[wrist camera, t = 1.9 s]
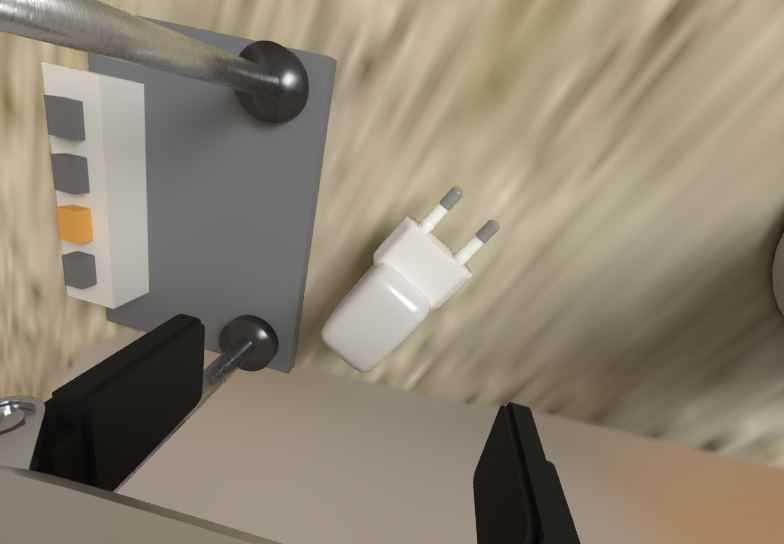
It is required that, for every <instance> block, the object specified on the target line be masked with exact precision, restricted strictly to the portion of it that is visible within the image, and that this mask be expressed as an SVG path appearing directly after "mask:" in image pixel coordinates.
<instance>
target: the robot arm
mask: <svg viewBox="0 0 784 544" xmlns="http://www.w3.org/2000/svg"><path fill="white" fill-rule="evenodd" d="M772 278H773V291H774V294H775V298H776V301H777V304H778V307H779V309H780V310H781V312H782V314H783V315H784V232H783V235H782V237H781V239H780V242H779V244H778V246H777V249H776V253H775V258H774V263H773V268H772ZM204 342H205V326H204V325H203V324H201V320H200V319H199V318H197V317H193V316H189V315H186V314H178V315H176V316H174V317H173V318H171V319H169V320H168V321H166V322H164V323H163V324H161V325H160V326H158V327H156V328H155V329H153V330H152V331H150V332H148V333H147V334H145V335H144V336H142V337H140V338H139V339H137V340H136V341H134V342H132V343H131V344H129V345H128V346H126V347H124V348H123V349H121V350H120V351H118V352H116V353H115V354H113V355H112V356H110V357H108V358H107V359H105V360H103V361H102V362H100V363H99V364H97V365H95V366H94V367H92V368H91V369H89V370H87V371H86V372H84V373H83V374H81V375H80V376H78V377H76V378H75V379H73V380H71V381H70V382H68V383H67V384H65V385H63V386H62V387H60V388H59V389H57V390H55V391H54V392H52V398H51V399H49V400H48V401H46V402H45V403H43V402H42V401H41V400H40V399H37V398H35V397H30V396H12V397H6V398H1V399H0V544H281V543H278V542H275V541H272V540H269V539H265V538H262V537H259V536H256V535H252V534H249V533H246V532H243V531H239V530H236V529H233V528H229V527H226V526H223V525H220V524H216V523H213V522H210V521H207V520H203V519H200V518H197V517H193V516H190V515H187V514H183V513H180V512H177V511H173V510H170V509H166V508H163V507H160V506H157V505H153V504H150V503H147V502H144V501H140V500H137V499H134V498H130V497H127V496H124V495H120V494H117V493H114V491H115V489H116V488H117V487H118V486H119V485H120V484H121V483H122V482H123V481H124V480H125V479H126V478H127V477H128V476H129V475H130V474H131V473H132V472H133V471H134V470H135V469H136V468H137V467H138V466H139V465H140V464H141V463H142V462H143V461H144V460H145V459H146V457H147V456H148V455H149V454H150V453H151V452H152V451H153V450H154V449H155V448H156V447H157V446H158V445H159V444H160V443H161V442H162V441H163V440H164V439H165V438H166V437H167V436H168V435H169V434H170V433H171V432H172V431H173V430H174V429H175V428H176V427H177V425H178V424H179V423H180V422H181V421H182V420H183V419H184V418H185V417H186V416H187V415H188V414H189V413H190V412H191V411H192V410H193V409H194V408H195V407H196V406H197V405H198V403H199V402H200V400H201V397H202V391H203V365H204ZM473 489H474V503H475V516H476V529H477V543H478V544H580V541H579V538H578V535H577V532H576V529H575V526H574V522H573V519H572V517H571V513H570V510H569V507H568V504H567V501H566V498H565V496H564V492H563V490H562V486H561V483H560V480H559V477H558V474H557V471H556V469H555V466H554V464H552V463H551V462H549V461H546V458H545V454H544V452H543V448H542V445H541V442H540V438H539V435H538V432H537V429H536V425H535V422H534V419H533V416H532V413H531V410H530V408H529V407H526V406H522V405H519V404H515V403H511V402H509V403H508V404H507V406H503V405H502V406H501V407H500V409H499V411H498V414H497V416H496V419H495V421H494V424H493V426H492V429H491V432H490V434H489V437H488V439H487V442H486V444H485V447H484V450H483V452H482V455H481V457H480V460H479V462H478V465H477V467H476V470H475V474H474V479H473Z"/></svg>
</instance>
